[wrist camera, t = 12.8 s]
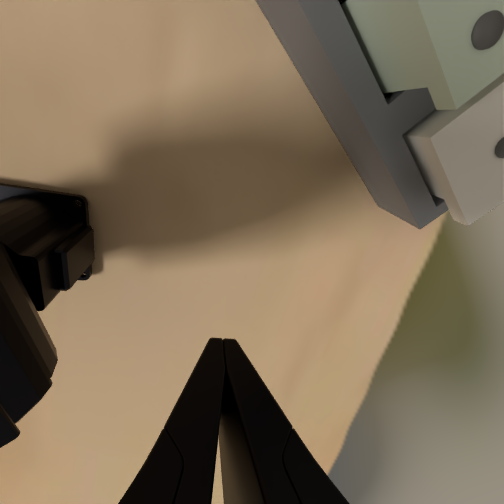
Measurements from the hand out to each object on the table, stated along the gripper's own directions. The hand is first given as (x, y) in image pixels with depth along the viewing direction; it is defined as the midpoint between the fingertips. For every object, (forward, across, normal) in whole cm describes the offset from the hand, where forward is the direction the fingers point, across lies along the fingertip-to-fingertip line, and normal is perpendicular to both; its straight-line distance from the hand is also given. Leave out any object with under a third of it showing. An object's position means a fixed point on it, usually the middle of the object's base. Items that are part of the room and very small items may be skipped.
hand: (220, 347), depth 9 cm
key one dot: (+13, -12, -8) cm, 19 cm away
